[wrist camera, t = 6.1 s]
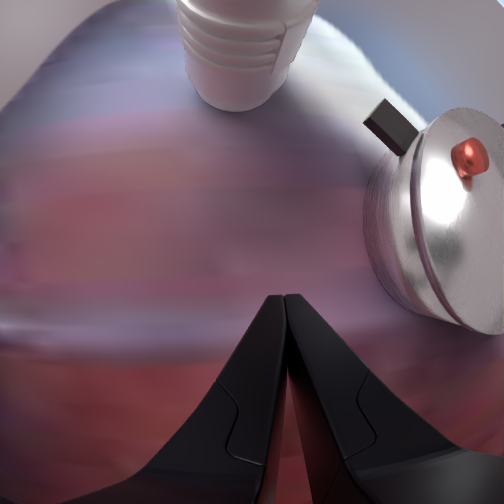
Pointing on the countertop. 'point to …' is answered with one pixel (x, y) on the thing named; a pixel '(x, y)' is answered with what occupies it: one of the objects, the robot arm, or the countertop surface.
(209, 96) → the white cylinder
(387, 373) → the countertop surface
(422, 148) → the cooker lid
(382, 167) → the cooker pot
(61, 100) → the countertop surface
